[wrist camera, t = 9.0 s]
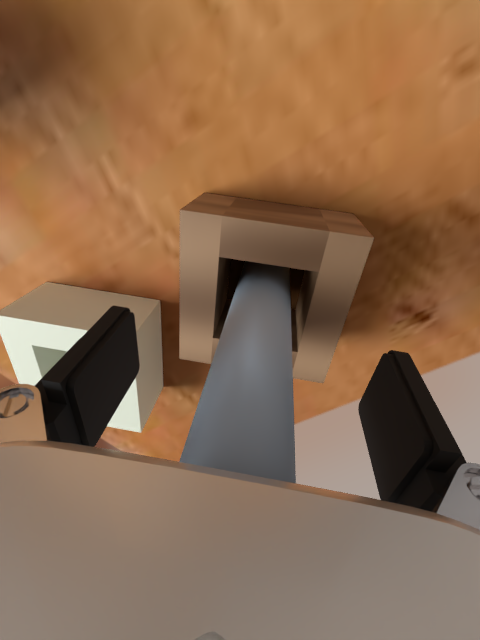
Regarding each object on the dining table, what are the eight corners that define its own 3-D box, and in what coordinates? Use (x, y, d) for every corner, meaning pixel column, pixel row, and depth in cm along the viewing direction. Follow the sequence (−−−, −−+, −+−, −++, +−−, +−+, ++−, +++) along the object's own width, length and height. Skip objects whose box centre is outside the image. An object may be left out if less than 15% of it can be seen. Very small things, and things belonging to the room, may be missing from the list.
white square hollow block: (46, 281, 23) (-7, 314, 19) (160, 300, 23) (131, 337, 19) (68, 370, 28) (30, 411, 24) (163, 386, 28) (141, 432, 23)
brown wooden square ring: (204, 192, 18) (179, 209, 14) (353, 213, 18) (374, 237, 14) (198, 317, 23) (179, 358, 19) (316, 337, 23) (323, 383, 18)
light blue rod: (245, 246, 20) (157, 487, 6) (294, 253, 20) (312, 517, 6) (240, 290, 21) (161, 554, 8) (285, 297, 21) (282, 579, 8)
